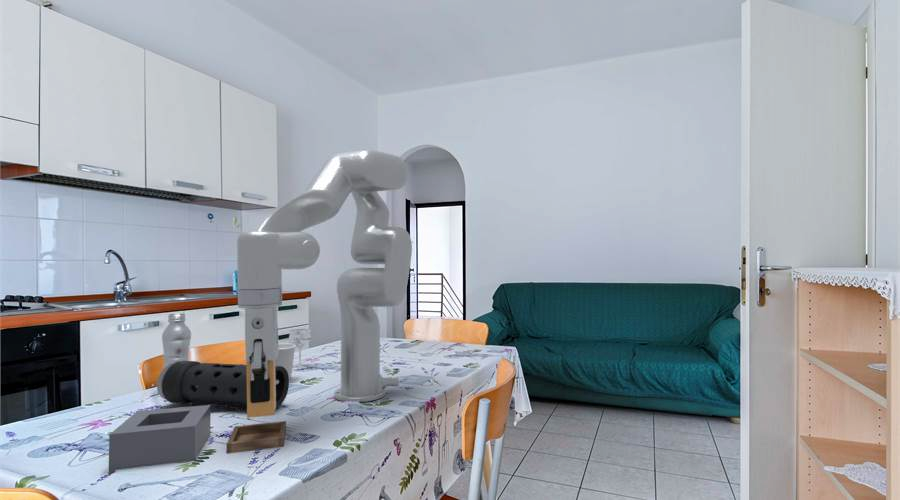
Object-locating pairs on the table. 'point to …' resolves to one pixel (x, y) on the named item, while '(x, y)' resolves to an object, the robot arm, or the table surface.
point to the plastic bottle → (176, 340)
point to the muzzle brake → (212, 384)
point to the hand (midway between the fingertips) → (261, 396)
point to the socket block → (159, 437)
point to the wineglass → (300, 340)
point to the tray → (256, 437)
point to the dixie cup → (285, 358)
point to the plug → (270, 406)
